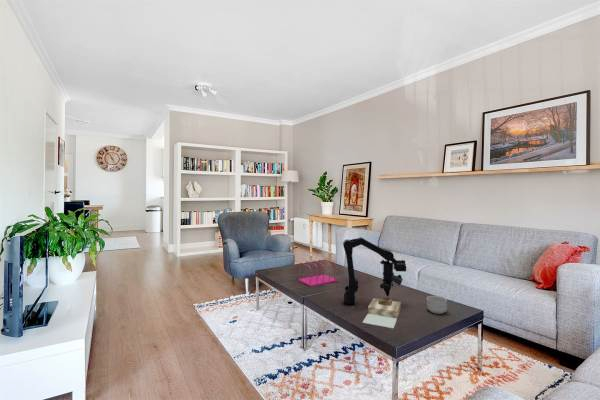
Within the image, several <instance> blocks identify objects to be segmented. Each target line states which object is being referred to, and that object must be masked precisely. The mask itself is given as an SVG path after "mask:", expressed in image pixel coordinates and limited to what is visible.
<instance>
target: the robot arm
mask: <svg viewBox="0 0 600 400" xmlns="http://www.w3.org/2000/svg"><path fill="white" fill-rule="evenodd" d="M342 246H343V249H344V253H345V258H346V266H347V275H348V279H347V285H346V286H345V287H344V293H343V302H342V304H343V305H345V306H351V307H353V306H355V304H356V303H357V297H356V293H357V292H358V290H359V288H360V286H359V279H358V278H356V277H355V269H354V268H355V267H354V260H353V253H354V252H353V251H354V250H353V249H354V248H356V247H359V246H363V247H364V248H367V249H369V250H371V251H372V252H373V253H374V252H375V253H376V254H378V255H379V256H380V257H382V258H383V259H381V260H380V261H379V263H380V265H383V266H382V267H383V268H382V269H383V272H382V282H381V283H380V285H379V288H380V289H381V290H383V291H384V293H385V295H386V297H387V298H389V296H390V293H391V290H392V289H393V287H394V284H397V285H398V286H401V285H402V283H403V280H404V279H403V277H402V275H401V274H398V275H395V273H394V271H395V272H405V273H406V272H407V263H406V260H404V259H402V260H400V259H399V260H398V259H396V258H395V255H394V253H393V252H392V250H389V249H387V248H383V247H380V246H377V245H376V244H375V243H373V242H371V241H368V240H367V239H365V238H364V237H361V236H360V237H356V238H352V239H344V241H343V242H342Z"/></svg>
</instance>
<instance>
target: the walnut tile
mask: <svg viewBox="0 0 600 400" xmlns="http://www.w3.org/2000/svg"><path fill="white" fill-rule="evenodd" d="M378 299H379V300H378V304H381V305H388V306H391V304H392V301H393V298H391V297H390V298H389V297H379V298H378Z"/></svg>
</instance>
